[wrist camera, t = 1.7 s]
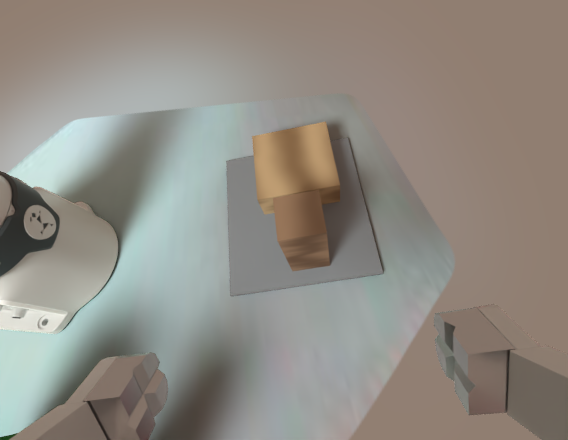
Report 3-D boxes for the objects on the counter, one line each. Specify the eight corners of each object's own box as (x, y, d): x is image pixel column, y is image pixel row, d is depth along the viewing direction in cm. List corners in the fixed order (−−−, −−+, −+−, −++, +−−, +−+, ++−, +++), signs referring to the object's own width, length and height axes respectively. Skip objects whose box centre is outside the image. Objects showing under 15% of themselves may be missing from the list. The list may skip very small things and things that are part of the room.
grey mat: (231, 296, 37) (230, 295, 36) (227, 163, 46) (226, 161, 45) (382, 274, 35) (383, 272, 35) (347, 140, 44) (347, 137, 44)
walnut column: (292, 271, 37) (277, 240, 28) (288, 237, 39) (272, 198, 30) (330, 265, 36) (326, 232, 27) (323, 231, 38) (318, 189, 29)
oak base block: (264, 214, 40) (257, 199, 37) (259, 154, 45) (252, 136, 41) (340, 201, 39) (340, 185, 36) (326, 141, 44) (325, 121, 40)
